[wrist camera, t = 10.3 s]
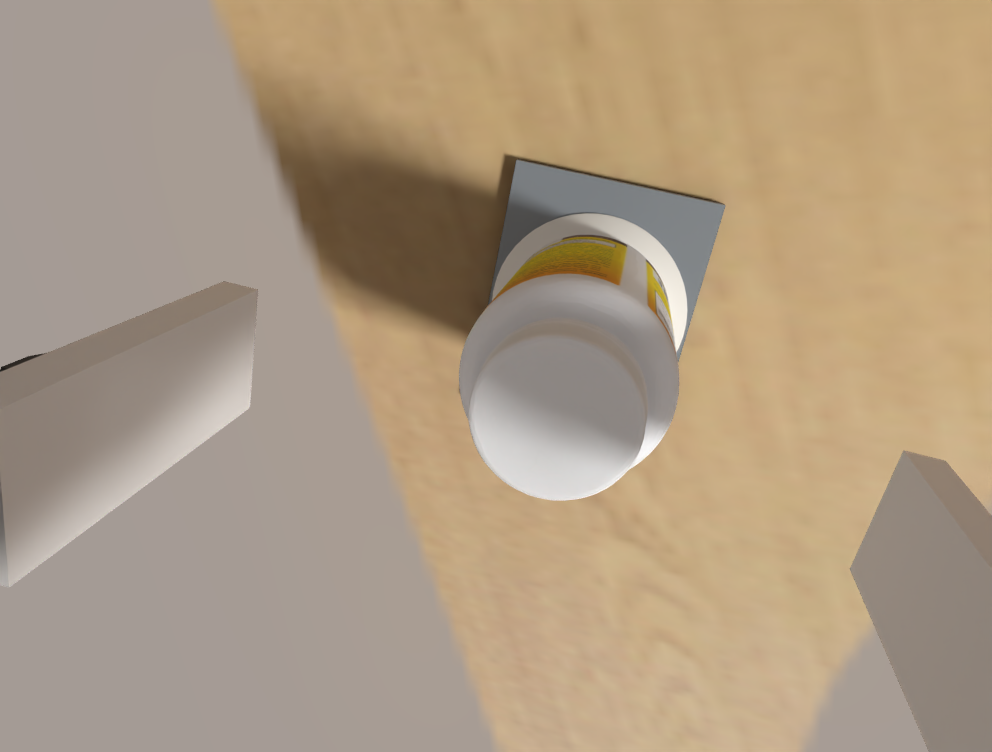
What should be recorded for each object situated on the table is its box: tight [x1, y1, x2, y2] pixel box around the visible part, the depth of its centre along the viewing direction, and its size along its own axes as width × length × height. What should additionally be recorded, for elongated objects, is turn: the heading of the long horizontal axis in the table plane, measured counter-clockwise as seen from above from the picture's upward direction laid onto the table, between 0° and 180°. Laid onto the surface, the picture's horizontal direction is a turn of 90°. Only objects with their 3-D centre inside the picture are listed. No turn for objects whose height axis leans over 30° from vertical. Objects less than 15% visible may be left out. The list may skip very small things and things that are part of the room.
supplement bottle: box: [459, 234, 679, 500], centre depth 21 cm, size 6×6×10 cm
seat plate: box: [488, 159, 725, 361], centre depth 26 cm, size 9×7×1 cm
